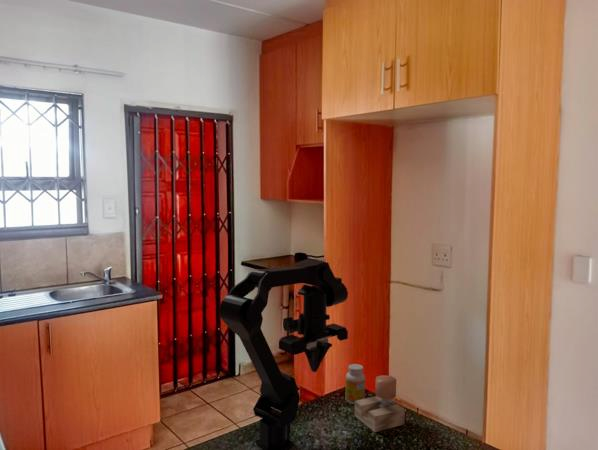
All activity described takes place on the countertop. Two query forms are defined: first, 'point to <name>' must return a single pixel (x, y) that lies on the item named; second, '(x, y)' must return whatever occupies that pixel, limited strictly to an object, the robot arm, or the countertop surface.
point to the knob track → (379, 414)
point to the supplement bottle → (355, 384)
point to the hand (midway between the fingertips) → (314, 371)
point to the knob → (385, 389)
